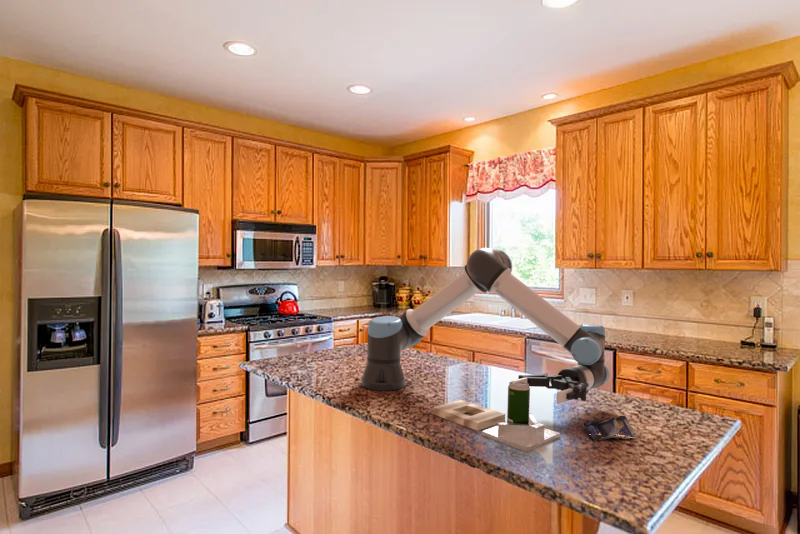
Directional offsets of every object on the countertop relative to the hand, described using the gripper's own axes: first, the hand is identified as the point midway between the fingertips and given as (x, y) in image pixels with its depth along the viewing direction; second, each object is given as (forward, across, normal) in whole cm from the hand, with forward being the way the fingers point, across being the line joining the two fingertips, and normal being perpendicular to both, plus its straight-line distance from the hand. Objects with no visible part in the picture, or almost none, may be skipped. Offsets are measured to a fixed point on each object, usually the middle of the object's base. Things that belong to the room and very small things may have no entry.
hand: (534, 391), depth 120 cm
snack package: (-12, -14, -10) cm, 21 cm away
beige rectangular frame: (+7, +16, -10) cm, 20 cm away
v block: (+7, 0, -10) cm, 12 cm away
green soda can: (+7, 0, -9) cm, 11 cm away
